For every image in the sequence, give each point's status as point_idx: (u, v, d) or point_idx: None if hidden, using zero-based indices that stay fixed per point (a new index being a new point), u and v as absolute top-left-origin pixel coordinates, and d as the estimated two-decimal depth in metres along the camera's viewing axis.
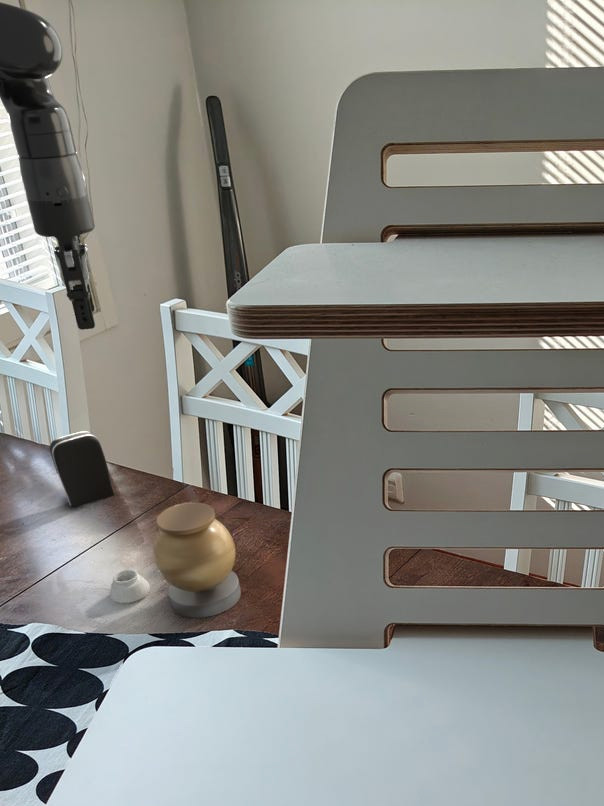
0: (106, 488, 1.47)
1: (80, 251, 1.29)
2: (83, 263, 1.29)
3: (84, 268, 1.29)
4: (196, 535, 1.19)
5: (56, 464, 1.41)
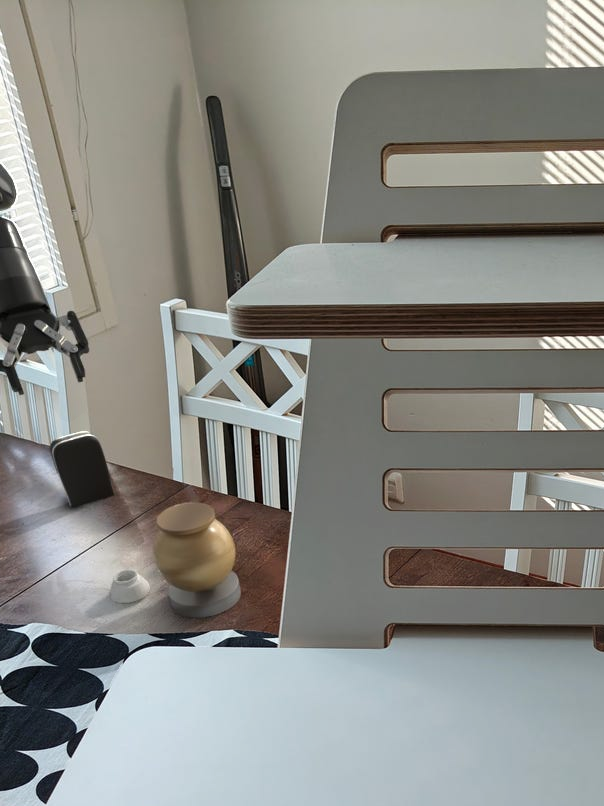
0: (106, 488, 1.47)
1: None
2: None
3: None
4: (196, 535, 1.19)
5: (56, 464, 1.41)
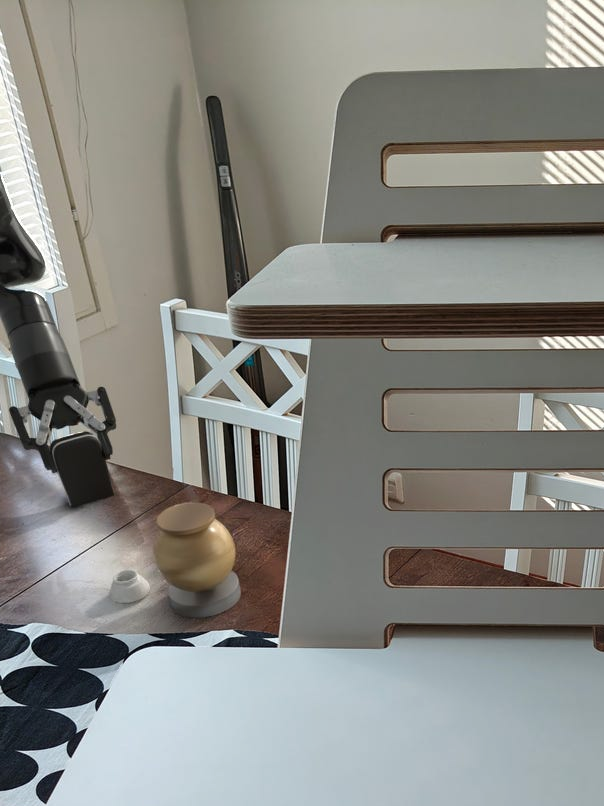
0: (106, 488, 1.47)
1: None
2: None
3: None
4: (196, 535, 1.19)
5: (56, 464, 1.41)
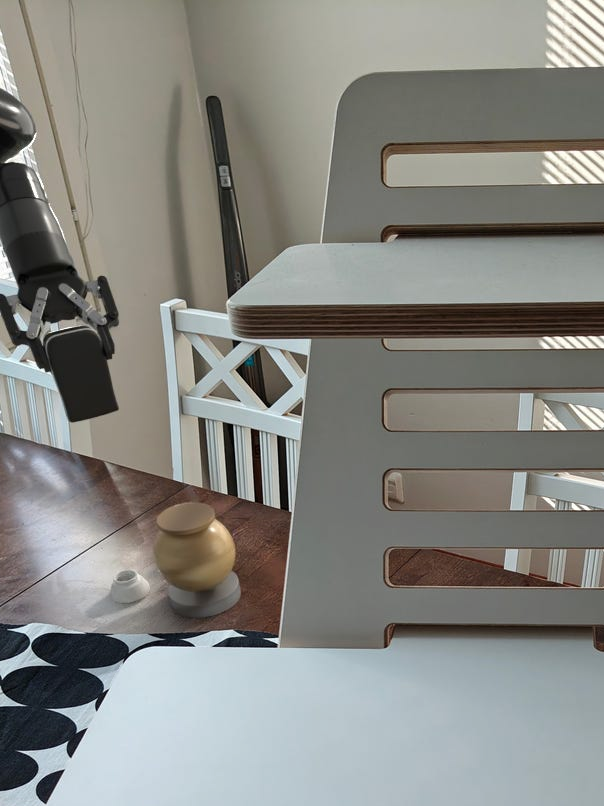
0: (107, 393, 1.28)
1: None
2: None
3: None
4: (196, 535, 1.19)
5: (50, 361, 1.23)
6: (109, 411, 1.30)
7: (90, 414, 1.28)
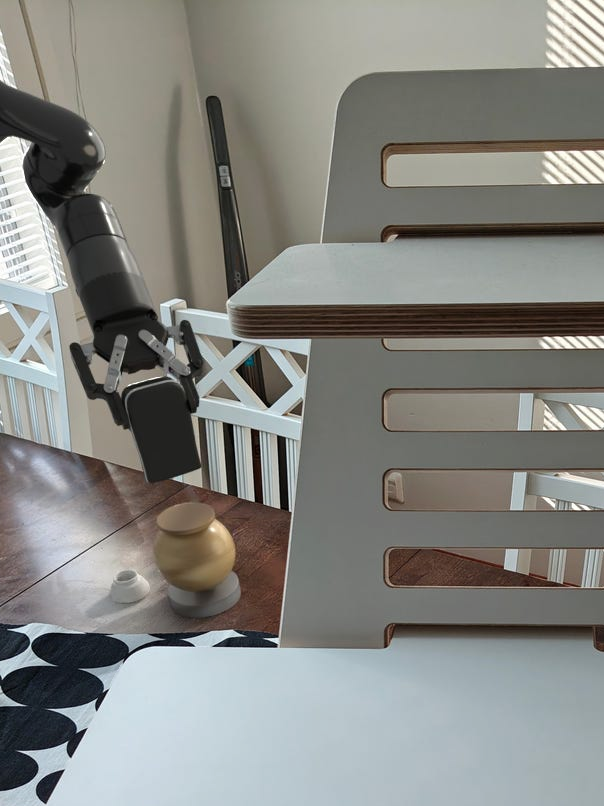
0: (190, 450, 1.15)
1: None
2: None
3: None
4: (196, 535, 1.19)
5: (130, 417, 1.10)
6: (191, 469, 1.17)
7: (171, 473, 1.15)
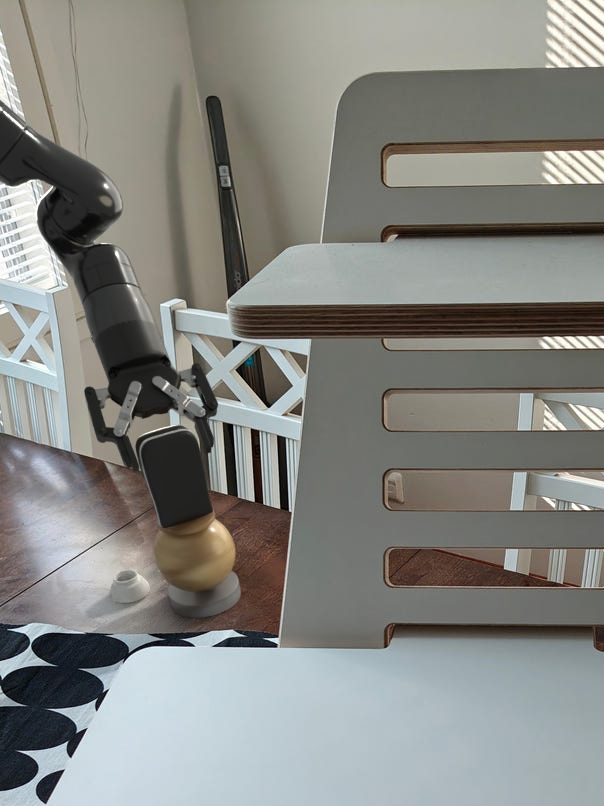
0: (202, 496, 1.18)
1: None
2: None
3: None
4: (196, 535, 1.19)
5: (144, 466, 1.13)
6: (203, 514, 1.20)
7: (183, 518, 1.19)
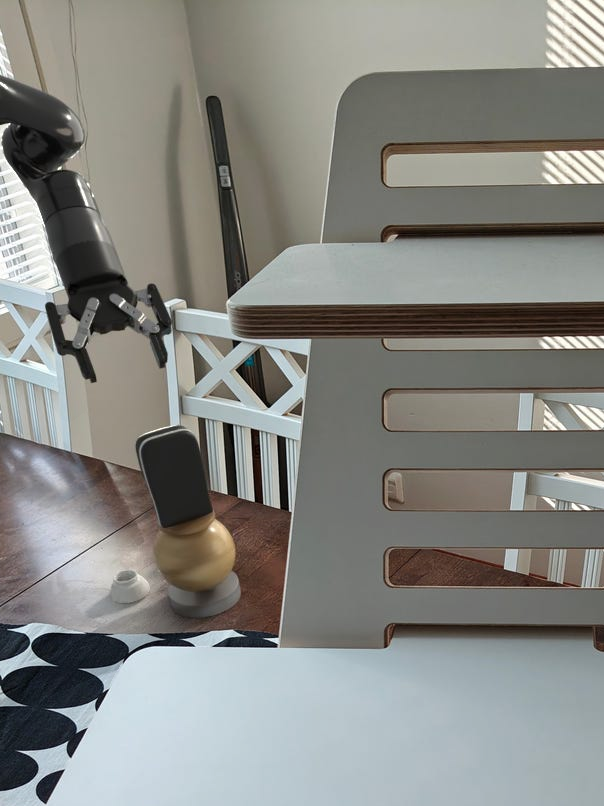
0: (202, 496, 1.18)
1: None
2: None
3: None
4: (196, 535, 1.19)
5: (144, 466, 1.13)
6: (203, 514, 1.20)
7: (183, 518, 1.19)
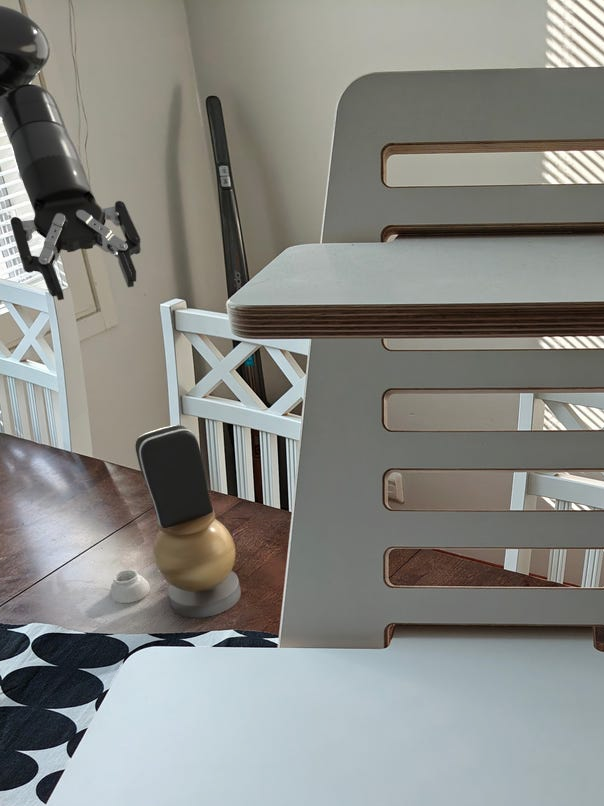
0: (202, 496, 1.18)
1: None
2: None
3: None
4: (196, 535, 1.19)
5: (144, 466, 1.13)
6: (203, 514, 1.20)
7: (183, 518, 1.19)
